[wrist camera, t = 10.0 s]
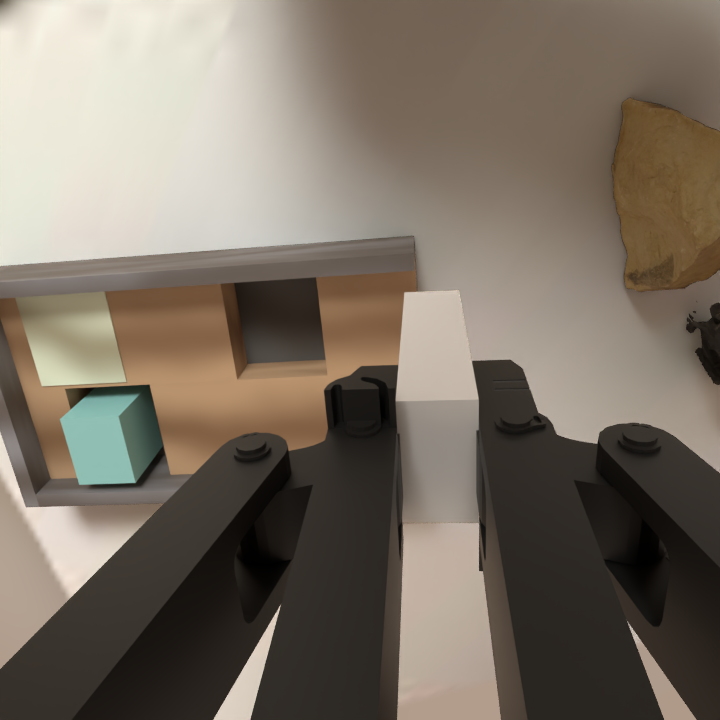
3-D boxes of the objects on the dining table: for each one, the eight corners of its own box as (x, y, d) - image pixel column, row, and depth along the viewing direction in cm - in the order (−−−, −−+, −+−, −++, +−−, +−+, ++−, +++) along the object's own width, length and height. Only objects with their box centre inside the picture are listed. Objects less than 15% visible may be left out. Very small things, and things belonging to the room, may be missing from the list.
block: (148, 384, 45) (95, 387, 45) (118, 416, 40) (59, 419, 41) (163, 445, 47) (112, 447, 47) (135, 482, 42) (79, 484, 43)
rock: (703, 333, 38) (829, 184, 33) (661, 351, 32) (809, 170, 27) (563, 238, 43) (655, 96, 38) (502, 237, 37) (603, 67, 32)
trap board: (1, 266, 43) (-49, 285, 38) (413, 235, 40) (413, 252, 35) (62, 468, 49) (25, 507, 44) (426, 456, 46) (427, 495, 41)
